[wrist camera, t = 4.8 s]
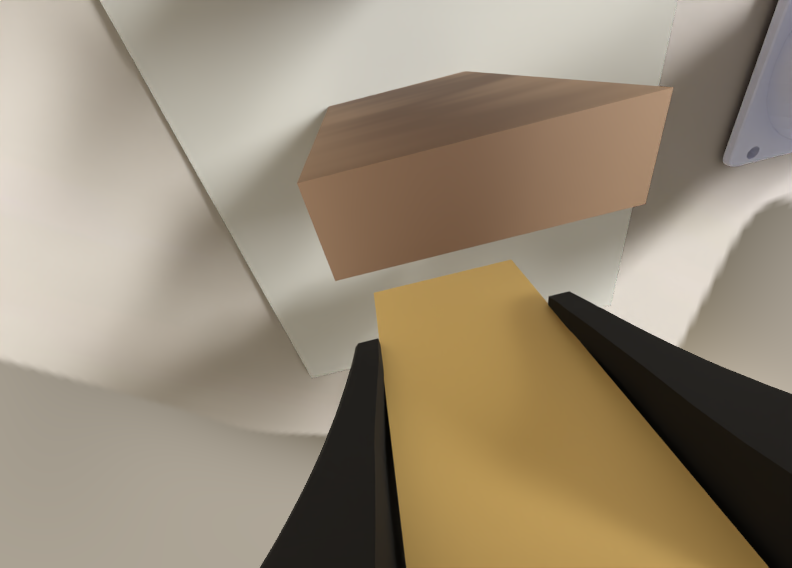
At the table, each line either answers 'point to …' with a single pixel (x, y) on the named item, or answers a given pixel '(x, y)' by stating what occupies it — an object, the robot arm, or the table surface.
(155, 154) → the table surface
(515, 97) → the domino
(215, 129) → the mat
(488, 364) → the domino
